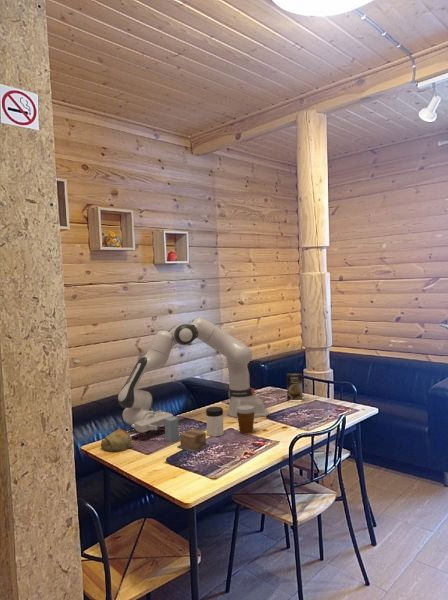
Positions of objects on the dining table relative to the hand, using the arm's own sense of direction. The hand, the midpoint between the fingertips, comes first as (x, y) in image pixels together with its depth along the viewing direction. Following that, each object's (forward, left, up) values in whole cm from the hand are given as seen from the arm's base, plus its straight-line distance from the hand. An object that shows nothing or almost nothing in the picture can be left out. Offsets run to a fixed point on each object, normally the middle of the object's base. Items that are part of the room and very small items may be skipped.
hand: (165, 425), depth 208 cm
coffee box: (-71, -54, -6) cm, 89 cm away
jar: (-23, -3, -6) cm, 24 cm away
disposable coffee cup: (-38, -4, -6) cm, 39 cm away
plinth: (-14, +13, -6) cm, 20 cm away
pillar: (-3, +3, -6) cm, 8 cm away
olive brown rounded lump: (+21, +9, -6) cm, 23 cm away
